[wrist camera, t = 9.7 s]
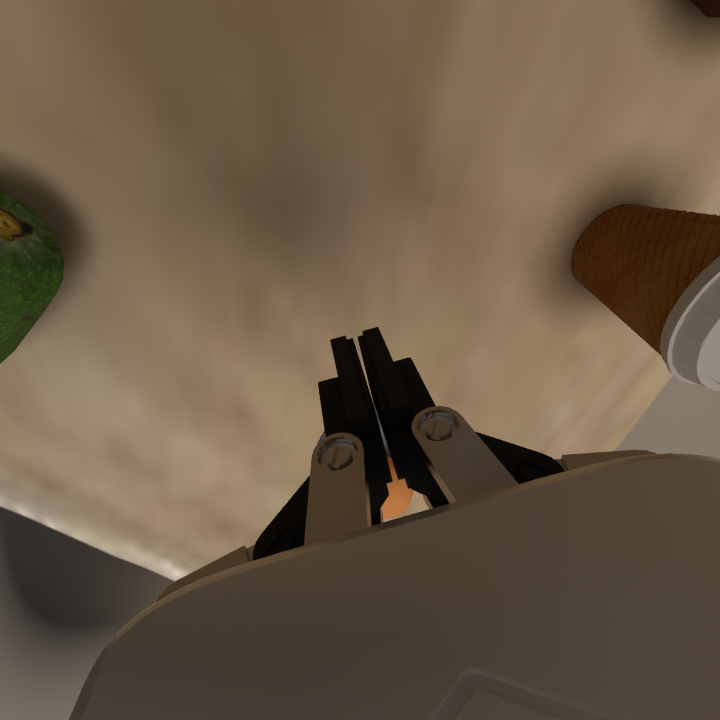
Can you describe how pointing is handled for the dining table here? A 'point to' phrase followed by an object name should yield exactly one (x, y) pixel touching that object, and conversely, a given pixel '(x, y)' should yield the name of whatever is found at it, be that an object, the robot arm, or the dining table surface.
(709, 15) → the muffin
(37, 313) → the fruit
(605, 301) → the disposable coffee cup
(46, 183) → the dining table surface
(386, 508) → the ball
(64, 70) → the dining table surface
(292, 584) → the robot arm
